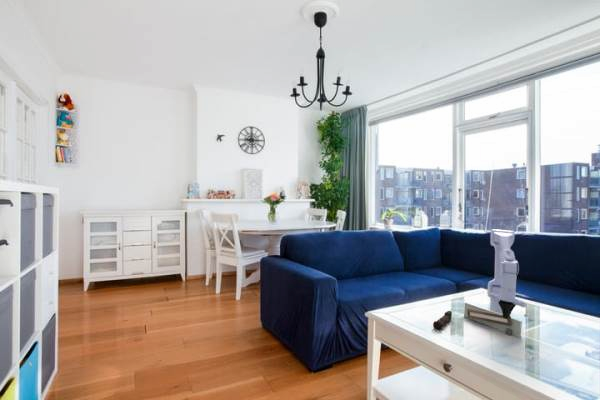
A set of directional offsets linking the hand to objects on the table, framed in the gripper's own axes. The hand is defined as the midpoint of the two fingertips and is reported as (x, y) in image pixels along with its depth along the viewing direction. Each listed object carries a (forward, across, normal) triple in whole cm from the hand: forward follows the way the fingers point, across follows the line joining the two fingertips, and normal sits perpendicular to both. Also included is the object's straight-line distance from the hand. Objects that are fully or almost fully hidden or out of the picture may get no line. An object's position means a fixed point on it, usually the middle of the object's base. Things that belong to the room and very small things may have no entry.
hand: (506, 318), depth 148 cm
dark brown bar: (+7, -19, -17) cm, 27 cm away
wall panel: (+7, -8, +1) cm, 10 cm away
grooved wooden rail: (+4, -8, 0) cm, 9 cm away
